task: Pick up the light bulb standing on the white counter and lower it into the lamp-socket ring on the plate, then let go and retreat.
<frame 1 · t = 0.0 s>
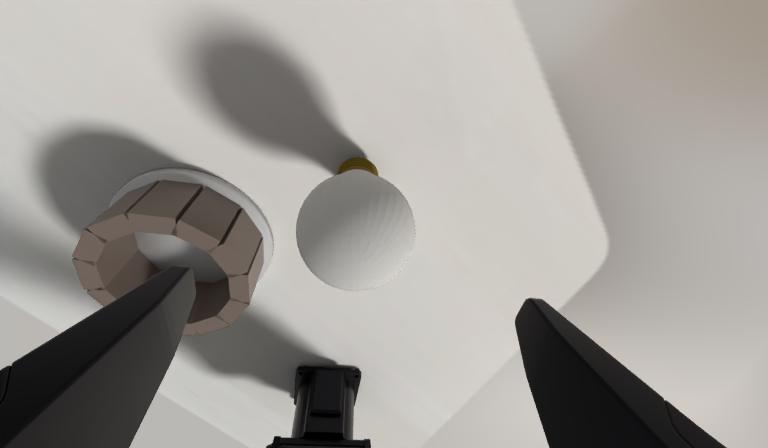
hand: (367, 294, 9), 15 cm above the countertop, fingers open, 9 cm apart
light bulb: (358, 169, 24), on the countertop
socket: (196, 236, 26), on the countertop
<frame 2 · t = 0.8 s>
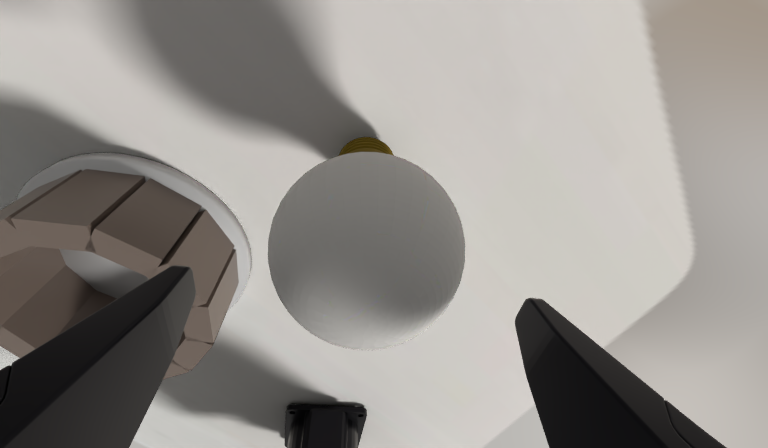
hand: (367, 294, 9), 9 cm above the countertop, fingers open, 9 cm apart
light bulb: (366, 155, 17), on the countertop
socket: (146, 247, 19), on the countertop
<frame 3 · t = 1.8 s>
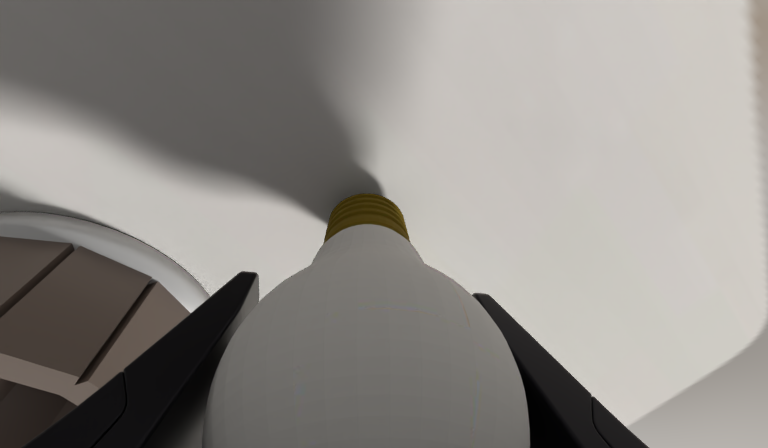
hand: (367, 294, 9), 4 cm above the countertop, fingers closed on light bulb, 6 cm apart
light bulb: (366, 211, 13), on the countertop, touching gripper
socket: (90, 320, 15), on the countertop
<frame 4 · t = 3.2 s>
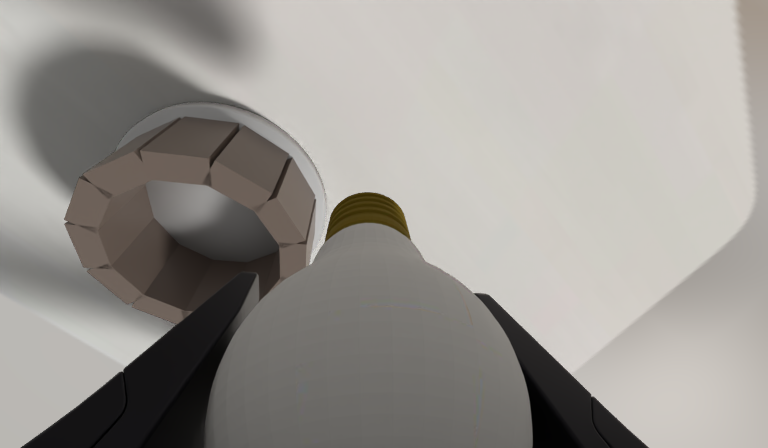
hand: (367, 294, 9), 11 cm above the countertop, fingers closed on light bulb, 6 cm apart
light bulb: (367, 209, 13), point 6 cm above the countertop, touching gripper
socket: (228, 201, 20), on the countertop
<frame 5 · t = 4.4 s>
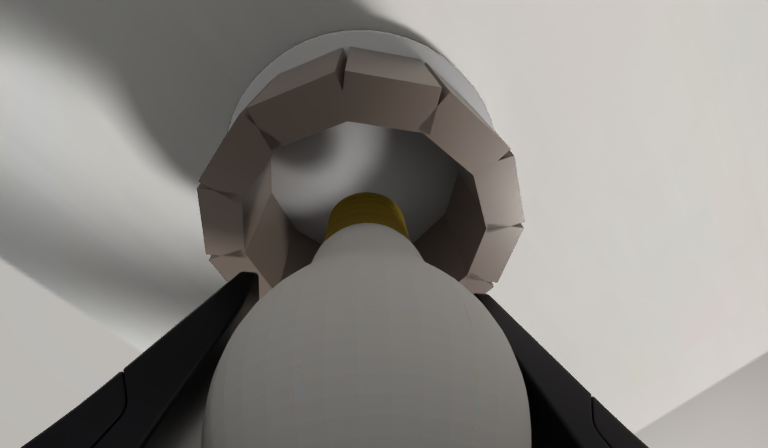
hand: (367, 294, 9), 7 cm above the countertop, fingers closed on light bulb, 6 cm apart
light bulb: (366, 209, 13), point 3 cm above the countertop, touching gripper
socket: (364, 174, 15), on the countertop
when the fingers open (6 cm above the countertop, at t = 5.0 s): light bulb drops 1 cm, resting on socket.
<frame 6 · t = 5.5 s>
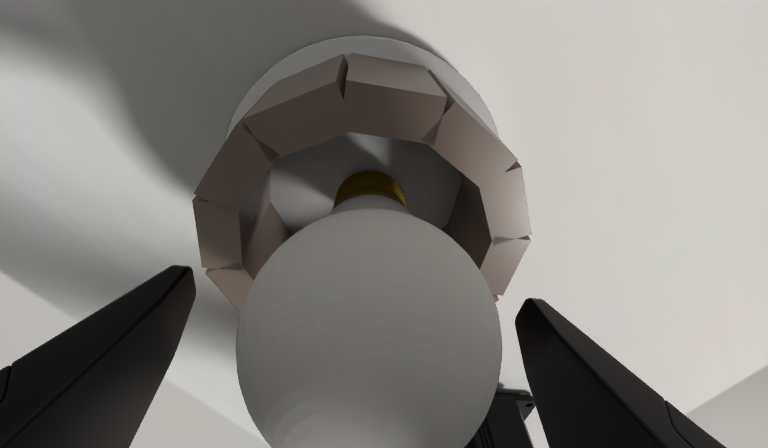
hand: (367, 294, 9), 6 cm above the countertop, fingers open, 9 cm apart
light bulb: (370, 188, 14), point 1 cm above the countertop, touching socket
socket: (365, 182, 15), on the countertop
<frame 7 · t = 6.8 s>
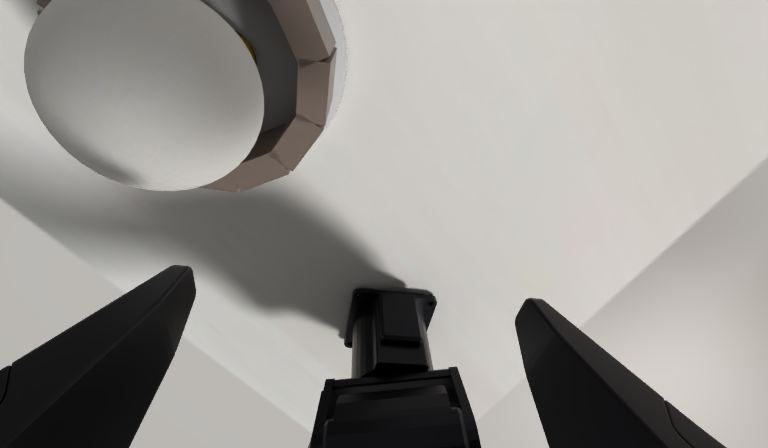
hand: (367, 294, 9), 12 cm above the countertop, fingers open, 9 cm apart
light bulb: (234, 55, 17), point 1 cm above the countertop, touching socket
socket: (234, 53, 17), on the countertop
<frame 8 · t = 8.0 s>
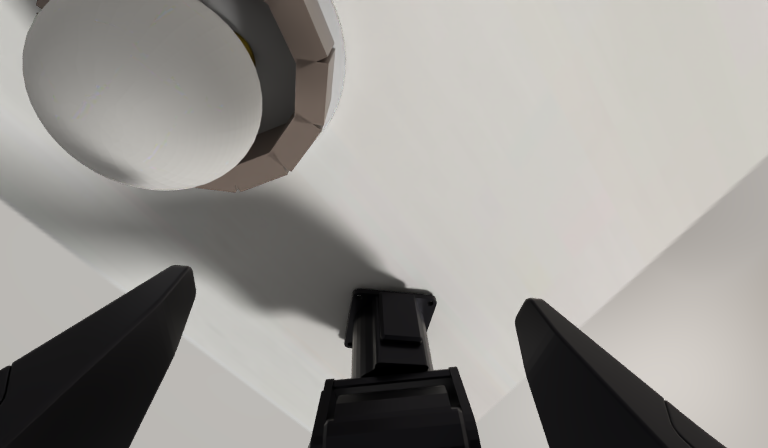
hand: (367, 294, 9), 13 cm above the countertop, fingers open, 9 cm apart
light bulb: (233, 56, 17), point 1 cm above the countertop, touching socket
socket: (233, 54, 17), on the countertop
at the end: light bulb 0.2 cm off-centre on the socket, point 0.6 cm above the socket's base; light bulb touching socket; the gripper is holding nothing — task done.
